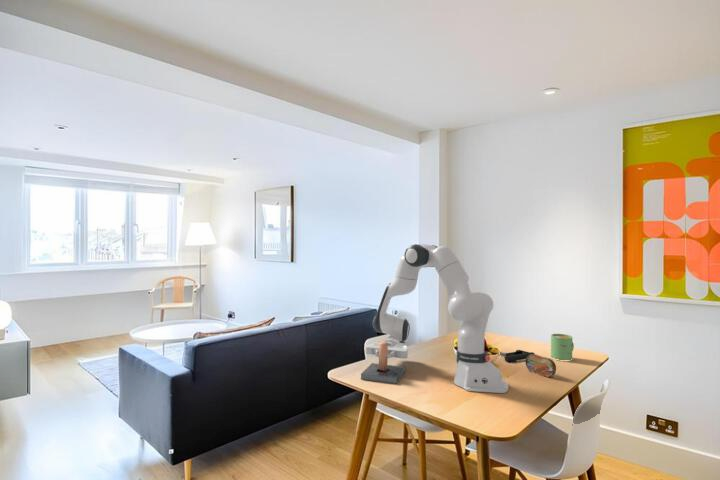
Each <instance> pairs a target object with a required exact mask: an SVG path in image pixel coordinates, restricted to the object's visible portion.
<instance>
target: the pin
mask: <svg viewBox="0 0 720 480" xmlns="http://www.w3.org/2000/svg"><path fill="white" fill-rule="evenodd" d="M378 344H379V357H378V364H379V370H381V371H386V370H387V365H388V359H389V358H387V354H388V343H387V342H384V341H380V342H378Z"/></svg>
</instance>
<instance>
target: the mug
mask: <svg viewBox="0 0 720 480" xmlns="http://www.w3.org/2000/svg"><path fill="white" fill-rule="evenodd" d="M574 346H575V345H574V341H573V336H572V335H569V334H564V333H551V334H550V358H551V357H552V358H555V359H559V360H571V359H572V360H573V352H574ZM552 358H551V359H552Z"/></svg>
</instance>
